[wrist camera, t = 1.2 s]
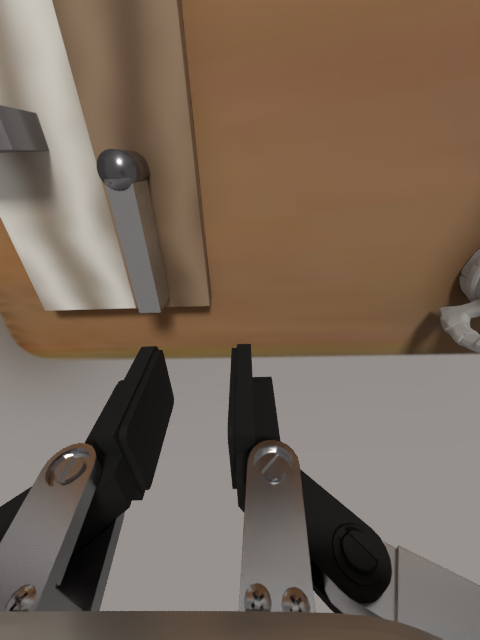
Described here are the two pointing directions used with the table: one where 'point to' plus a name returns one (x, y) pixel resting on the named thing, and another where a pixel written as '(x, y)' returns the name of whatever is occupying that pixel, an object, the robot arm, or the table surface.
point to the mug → (465, 307)
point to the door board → (97, 145)
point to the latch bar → (135, 225)
